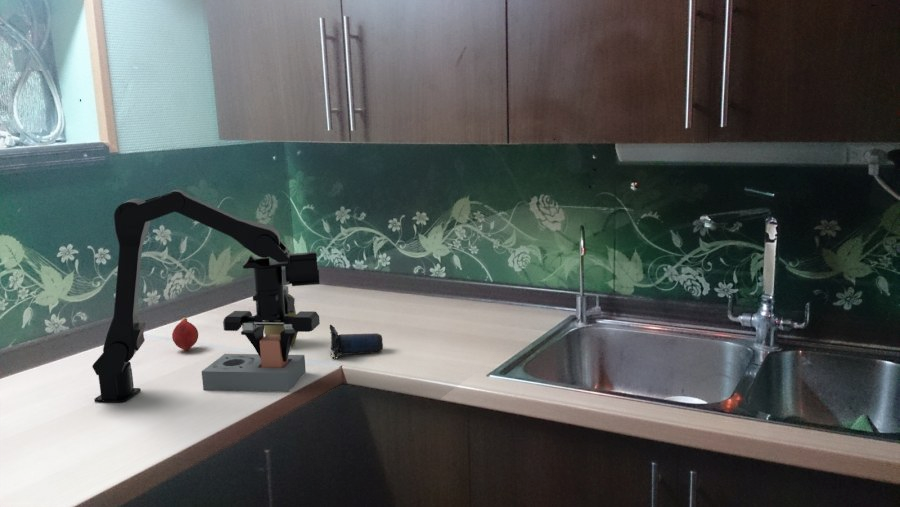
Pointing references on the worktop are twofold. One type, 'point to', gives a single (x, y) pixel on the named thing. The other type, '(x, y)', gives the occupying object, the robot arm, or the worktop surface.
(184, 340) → the onion
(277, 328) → the squeeze bottle
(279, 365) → the square peg
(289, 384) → the socket block
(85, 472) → the worktop surface
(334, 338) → the flanged blue cylinder
